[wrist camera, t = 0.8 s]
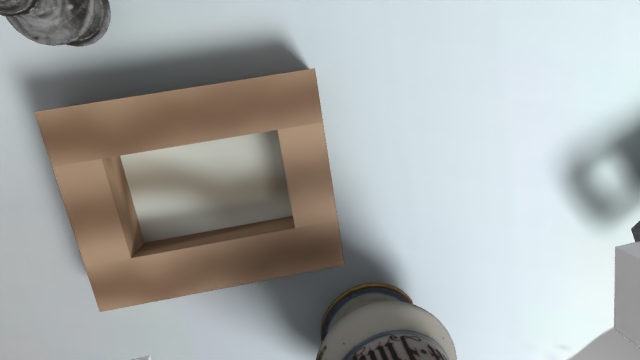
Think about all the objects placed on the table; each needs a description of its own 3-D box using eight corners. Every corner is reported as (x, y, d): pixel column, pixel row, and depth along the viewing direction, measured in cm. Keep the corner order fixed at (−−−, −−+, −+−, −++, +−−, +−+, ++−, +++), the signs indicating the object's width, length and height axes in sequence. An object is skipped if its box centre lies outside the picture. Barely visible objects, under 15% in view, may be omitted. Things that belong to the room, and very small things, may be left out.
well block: (61, 109, 30) (34, 111, 27) (310, 70, 32) (314, 68, 28) (117, 290, 34) (99, 311, 31) (337, 248, 36) (344, 265, 32)
